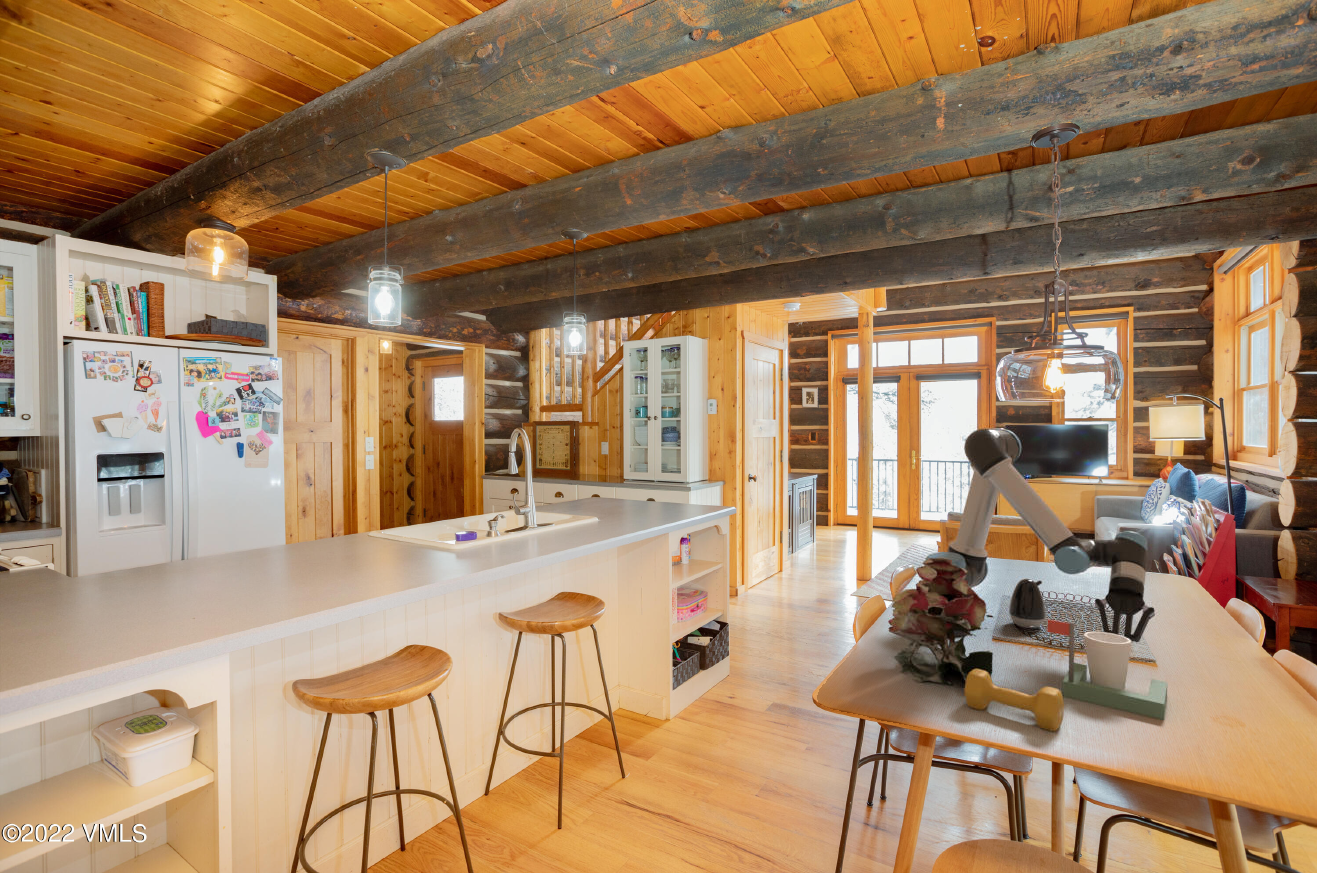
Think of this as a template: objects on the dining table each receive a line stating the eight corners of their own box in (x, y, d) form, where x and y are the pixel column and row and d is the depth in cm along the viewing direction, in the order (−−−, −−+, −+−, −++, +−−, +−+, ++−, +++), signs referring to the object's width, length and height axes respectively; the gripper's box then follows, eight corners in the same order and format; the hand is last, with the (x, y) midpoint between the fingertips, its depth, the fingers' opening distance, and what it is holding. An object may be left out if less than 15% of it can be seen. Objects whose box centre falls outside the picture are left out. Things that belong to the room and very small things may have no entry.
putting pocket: (1056, 672, 166) (1057, 606, 165) (1167, 696, 151) (1168, 623, 150) (1045, 691, 154) (1046, 620, 153) (1164, 719, 139) (1165, 641, 139)
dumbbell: (960, 709, 145) (961, 674, 144) (974, 697, 151) (974, 663, 151) (1056, 738, 131) (1056, 699, 131) (1067, 723, 138) (1067, 686, 137)
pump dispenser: (1054, 629, 200) (1054, 581, 199) (1026, 632, 197) (1026, 583, 197) (1028, 619, 209) (1028, 574, 209) (1001, 622, 207) (1002, 576, 207)
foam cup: (1131, 689, 155) (1130, 636, 155) (1132, 702, 147) (1132, 646, 147) (1084, 680, 160) (1084, 629, 160) (1083, 692, 153) (1083, 639, 153)
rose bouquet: (989, 658, 176) (990, 550, 175) (998, 700, 149) (999, 573, 149) (891, 645, 186) (891, 543, 186) (883, 682, 160) (884, 564, 159)
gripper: (1158, 595, 168) (1151, 676, 156) (1098, 586, 177) (1088, 663, 165) (1157, 579, 164) (1150, 661, 152) (1096, 571, 173) (1085, 648, 161)
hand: (1118, 662), depth 158 cm, fingers closed
